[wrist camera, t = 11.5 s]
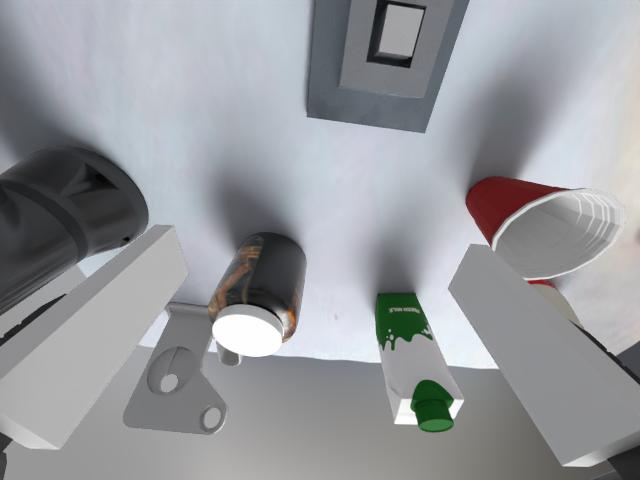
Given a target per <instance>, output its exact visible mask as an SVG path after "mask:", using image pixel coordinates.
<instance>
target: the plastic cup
mask: <svg viewBox="0 0 640 480" xmlns="http://www.w3.org/2000/svg"><path fill="white" fill-rule="evenodd" d="M466 205H467V208H468V211H469V213H470V214H471V216H472V217H473V218H474V220H475V222H476V224H477V226H478V227H479V229H480V231H481V232H482V234H483V235H484V237H485V238H486V240H487V242H488V243H489V245H490V247H491V249H492V250H493V251H494V252H495V253H496V254H497V255H499V256H500V257H501V258H502V259H503V260H504V261H505V262H506V263H507V264H508V265H509V266H510V267H512V268H513V269H514V270H515V271H516V272H517V273H518V274H519V275H520V276H521V277H522V278H524V279H525V280H526V281H527V280H540V279H550V278H553V277H557V276H560V275H563V274H567V273H570V272H573V271H575V270H577V269H579V268H581V267H583V266H584V265H586V264H588V263H590V262H592V261H594V260H596V259H597V258H598V257H599V256H600V255H601V254H603V253H604V252H605V251H606V250H607V249H608V248H609V247H611V246H612V245H613V244H614V243H615V242H616V240H617V238H618V236H619V235H620V233H621V231H622V229H623V228H624V226H625V224H626V222H625V206H624V205H623V204H622V203H621V202H620V201H619V200H618V199H617V198H616V197H615V196H614V195H613V194H612V193H607V192H602V191H597V190H592V189H587V188H578V189H567V188H559V187H551V186H546V185H541V184H537V183H532V182H527V181H522V180H517V179H509V178H504V177H499V176H498V177H490V178H486V179H484V180H482V181H480V182H478V183H477V184H476V185H475V186H474V187H473V188H472V189H471V190H470V192H469V193H468V195H467V198H466Z"/></svg>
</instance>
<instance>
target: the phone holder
mask: <svg viewBox="0 0 640 480" xmlns="http://www.w3.org/2000/svg"><path fill="white" fill-rule="evenodd" d="M166 311H167V314H168V317H169V320H168V323H167V325H166V327H165V329H164V331H163V333H162V335H161V337H160V339H159V341H158V343H157V345H156V347H155V350H154V351H153V353H152V355H151V358H150V360H149V362H148V364H147V366H146V368H145V370H144V372H143V374H142V376H141V378H140V380H139V382H138V384H137V386H136V388H135V390H134V392H133V394H132V397H131V399H130V401H129V403H128V405H127V407H126V409H125V411H124V414H123V422H124V424H125V425H126V426H128V427H132V428H142V429H152V430H162V431H172V432H182V433H194V434H206V435H209V434H213V433H216V432H217V431H219V430H220V429H221V428H222V427H223V425H224V423H225V421H226V418H227V414H228V404H227V402H226V401H225V400H224V399H223V397H222V396H221V395H220V394H219V392H218V391H217V390H216V389H215V387H214V386H213V385H212V383H211V382H210V381H209V380H208V378H207V377H206V376H205V375H204V374H203V371H202V366H203V363H204V360H205V358H206V354H207V352H208V349H209V346H210V343H211V341H212V339H215V337H214V335H213V333H212V326H213V324H212V322H211V320H210V318H209V314H208V307H204V306H196V305H188V304H180V303H169V304H168V305H167V306H166ZM216 345H217V350H218V356H219V360H220V361H221V363H223V364H225V365H228V366H237V365H239V364H240V363H241V361H242V358H243V355H241V354H238V353H235V352H232V351H230V350H228V349H226V348H225V347H223V346H222V345H221V344H220V343H219V342H218V341H216ZM170 374H175V375H176V376H177V378H178V384H177V386H176V387H175V388H174V389H173V390H171V391H170V392H163V391H162V390H161V382H162V380H163V379H164V378H165V377H166V376H168V375H170ZM211 408H218V409H219V410H220V412H221V419H220V421H219V423H218V425H217V426H215V427H214V428H207V427H206V426H205V424H204V418H205V415H206V413H207V412H208V411H209V410H210V409H211Z"/></svg>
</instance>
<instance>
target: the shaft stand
mask: <svg viewBox="0 0 640 480" xmlns="http://www.w3.org/2000/svg"><path fill="white" fill-rule="evenodd" d="M349 2H350V0H316V4H315V17H314V30H313V43H312V56H311V69H310V82H309V95H308V107H307V117H311V118H318V119H325V120H332V121H339V122H347V123H354V124H361V125H368V126H375V127H383V128H390V129H397V130H404V131H412V132H419V133H425V131H426V128H427V125H428V122H429V119H430V116H431V113H432V110H433V107H434V104H435V101H436V98H437V95H438V92H439V89H440V86H441V83H442V80H443V77H444V74H445V72H446V69H447V66H448V63H449V60H450V57H451V54H452V51H453V48H454V45H455V42H456V39H457V36H458V33H459V30H460V27H461V24H462V21H463V18H464V15H465V12H466V9H467V6H468V3H469V0H454V3H453V6H452V9H451V12H450V16H449V19H448V22H447V25H446V28H445V32H444V35H443V38H442V41H441V44H440V48H439V51H438V54H437V57H436V60H435V64H434V67H433V70H432V73H431V76H430V80H429V83H428V86H427V89H426V92H425V96H424V98H406V97H399V96H392V95H385V94H379V93H372V92H365V91H358V90H351V89H344V88H338V83H339V76H340V68H341V61H342V54H343V46H344V39H345V32H346V24H347V17H348V9H349ZM423 12H424V10H420V9H414V8H408V7H401V6H395V5H389V4H388V6H387V7H386V9H385V10H384V12H383V13H382V15H381V16H380V18H379V20H378V21H376V20H373V26H372V31H371V37H370V42H369V48H368V53H367V59H366V62H369V63H376V64H383V65H390V66H396V65H397V63H399V62H401V61H403V60H405V59H407V58H409V57H411V56H412V53H413V50H414V46H415V42H416V38H417V34H418V31H419V27H420V23H421V19H422V16H423Z"/></svg>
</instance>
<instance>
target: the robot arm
mask: <svg viewBox="0 0 640 480" xmlns="http://www.w3.org/2000/svg"><path fill="white" fill-rule="evenodd" d="M147 224H148V210H147V206H146V203H145V201H144V198H143V196H142V195H141V193H140V191H139V190H138V188H137V187H136V186H135V184H134V183H133V182H132V181H131V180H130V178H129V177H128V176H127V175H126V174H125V173H123V172H122V171H121V170H120V169H119V168H118V167H116V166H115V165H114V164H112V163H111V162H109V161H108V160H106V159H104V158H103V157H101V156H99V155H97V154H95V153H92V152H90V151H87V150H84V149H80V148H76V147H56V148H51V149H46V150H41V151H38V152H35V153H33V154H31V155H29V156H28V157H26V158H25V159H23V160H22V161H20V162H19V163H17V164H16V165H14V166H13V167H11V168H10V169H8V170H7V171H5V172H4V173H2V174H1V175H0V316H1V315H2V314H4V313H5V312H7V311H8V310H10V309H11V308H13V307H14V306H15V305H17V304H18V303H20V302H21V301H23V300H24V299H26V298H27V297H28V296H30V295H32V294H33V293H34V292H36V291H37V290H39V289H40V288H42V287H43V286H44V285H46V284H48V283H49V282H50V281H52V280H53V279H55V278H56V277H58V276H59V275H61V274H62V273H64V272H65V271H66V270H68V269H69V268H71V267H72V266H74V265H75V264H77V263H78V262H80V261H81V260H83V259H84V258H86V257H90V256H93V255H96V254H99V253H103V252H106V251H109V250H112V249H116V248H119V247H122V246H125V245H127V244H129V243H130V242H132V241H133V240H135V239H136V238H137V237H139V236H140V235H141V234H142V233H143V232H144V231H145V229H146V227H147ZM188 275H189V271H188V268H187V265H186V262H185V259H184V256H183V253H182V249H181V246H180V243H179V240H178V237H177V234H176V231H175V228H174V226H171V225H155V226H153V227H152V228H151V229H149V230H148V231H147V232H146V233H144V234H143V235H142V236H141V237H139V238H138V239H137V240H136V241H134V242H133V243H132V244H130V245H129V246H128V247H127V248H125V249H124V250H123V251H122V252H120V253H119V254H118V255H116V256H115V257H114V258H113V259H111V260H110V261H109V262H108V263H106V264H105V265H104V266H102V267H101V268H100V269H99V270H97V271H96V272H95V273H94V274H92V275H91V276H90V277H88V278H87V279H86V280H85V281H83V282H82V283H81V284H80V285H78V286H77V287H76V288H75V289H73V290H72V291H71V292H70V293H68V294H64V295H62V296H60V297H58V298H56V299H54V300H52V301H50V302H48V303H47V304H45V305H43V306H41V307H40V308H38V309H37V310H36V311H34V312H33V313H32V314H30V315H29V316H28V317H27V318H25V319H24V320H23V321H22V323H21V324H20V325H16V326H15V327H14V328H12V329H11V330H9V331H8V332H7V333H5V334H4V337H3V338H0V480H3V478H4V474H5V469H6V464H7V460H6V453H4V452H2V451H3V450H4V449H5V448H6V447H7V446H8V445H9V444H10V442H11V441H12V440H14V441H16V442H18V443H20V444H21V445H24V446H25V447H27V448H32V449H61V447H62V446H63V445H64V443H65V442H66V441H67V439H68V438H69V437H70V435H71V434H72V432H73V431H74V430H75V428H76V427H77V426H78V424H79V423H80V422H81V420H82V419H83V418H84V416H85V415H86V413H87V412H88V411H89V409H90V408H91V407H92V405H93V404H94V403H95V401H96V400H97V399H98V397H99V395H101V393H102V392H103V390H104V389H105V388H106V386H107V385H108V384H109V382H110V381H111V380H112V378H113V377H114V375H115V374H116V373H117V371H118V370H119V369H120V367H121V366H122V365H123V363H124V362H125V360H126V359H127V358H128V356H129V355H130V354H131V352H132V351H133V350H134V348H135V347H136V346H137V344H138V343H139V342H140V340H141V339H142V338H143V336H144V335H145V333H146V332H147V331H148V329H149V328H150V327H151V325H152V324H153V323H154V321H155V320H156V319H157V317H158V316H159V314H160V313H161V312H162V310H163V309H164V308H165V306H166V305H167V304H168V302H169V301H170V300H171V298H172V297H173V295H174V294H175V293H176V291H177V290H178V289H179V287H180V286H181V285H182V283H183V282H184V281H185V279H186V278H187V276H188ZM448 290H449V291H450V293H451V294H452V296H453V297H454V299H455V300H456V302H457V304H458V305H459V307H460V308H461V310H462V311H463V313H464V314H465V316H466V318H467V319H468V321H469V322H470V324H471V325H472V327H473V328H474V330H475V331H476V333H477V335H478V336H479V338H480V339H481V341H482V342H483V344H484V345H485V347H486V349H487V350H488V352H489V353H490V355H491V356H492V358H493V359H494V361H495V363H496V364H497V366H498V367H499V369H500V370H501V372H502V373H503V375H504V376H505V378H506V379H507V381H508V383H509V384H510V386H511V387H512V389H513V390H514V392H515V394H516V395H517V397H518V398H519V400H520V401H521V403H522V404H523V406H524V407H525V409H526V411H527V412H528V414H529V415H530V417H531V418H532V420H533V422H534V423H535V425H536V426H537V428H538V429H539V431H540V432H541V434H542V435H543V437H544V438H545V440H546V442H547V443H548V445H549V446H550V448H551V449H552V451H553V452H554V454H555V456H556V457H557V459H558V460H559V462H560V463H561V465H562V466H580V467H590V466H592V465H595V464H597V463H600V462H602V461H605V460H608V461H609V462H610V463H611V464H612V466H613V467H614V468H615V470H614V471H611V472H608V473H605V474H603V475H600V476H597V477H595V478H593V479H591V480H640V378H639V377H638V376H636V375H635V374H634V373H633V372H632V371H631V370H630V369H628V368H627V367H626V366H623V365H622V362H621V361H620V360H619V359H617V358H616V357H615V356H614V355H613V354H612V353H611V352H607V349H606V348H605V347H604V346H603V345H602V344H601V343H600V342H599V341H597V340H596V339H595V338H594V337H593V336H592V335H591V334H590V333H588V332H587V331H585V330H584V329H582V328H581V327H579V326H578V325H576V324H575V323H573V322H572V321H570V320H569V319H567V318H566V317H565V316H564V315H563V314H562V313H561V312H559V311H558V310H557V309H556V308H555V307H554V306H553V305H552V304H551V303H550V302H549V301H548V300H546V299H545V298H544V297H543V296H542V295H541V294H540V293H539V292H538V291H537V290H536V289H534V288H533V287H532V286H531V285H530V284H529V283H528V282H527V281H526V280H525V279H524V278H522V277H521V276H520V275H519V274H518V273H517V272H516V271H515V270H514V269H513V268H512V267H510V266H509V265H508V264H507V263H506V262H505V261H504V260H503V259H502V258H501V257H500V256H499V255H497V254H496V253H495V252H494V251H493V250H492V249H491V248H490V247H489V246H488V245H478V244H470V246H469V248H468V250H467V252H466V254H465V256H464V258H463V260H462V261H461V263H460V265H459V267H458V269H457V271H456V273H455V275H454V277H453V279H452V281H451V283H450V285H449V287H448Z"/></svg>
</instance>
